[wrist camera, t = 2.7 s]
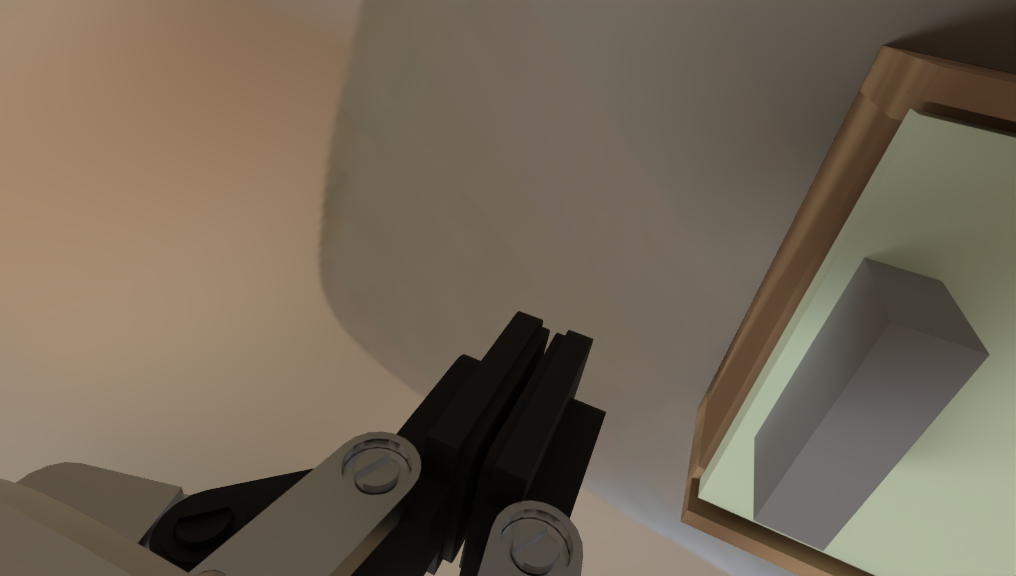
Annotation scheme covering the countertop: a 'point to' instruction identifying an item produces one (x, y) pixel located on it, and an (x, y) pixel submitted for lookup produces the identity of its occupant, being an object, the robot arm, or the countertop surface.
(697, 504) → the wooden drawer box
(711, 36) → the countertop surface
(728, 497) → the lid
